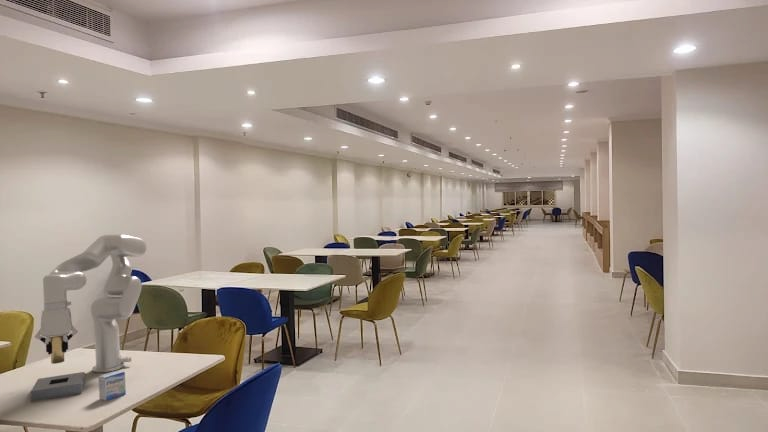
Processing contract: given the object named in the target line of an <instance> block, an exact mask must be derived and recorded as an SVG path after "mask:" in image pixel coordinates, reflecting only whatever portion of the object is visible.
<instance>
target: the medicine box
mask: <svg viewBox="0 0 768 432" xmlns="http://www.w3.org/2000/svg"><path fill="white" fill-rule="evenodd" d="M126 388H127V386H126V371H123V370H114V371H111V372H108V373H106V374H103V375H99V376H98V394H99V395H98V399H99V400H102V401H105V402H108V401H109V400H113V399H116V398H118V397H121V396H124V395H126V392H127V390H126Z"/></svg>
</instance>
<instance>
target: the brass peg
mask: <svg viewBox="0 0 768 432" xmlns="http://www.w3.org/2000/svg"><path fill="white" fill-rule="evenodd" d="M63 342H64V338H63V335H57V336H51V337H50V346H51V354H50V363H51V364H52V365H55V364H56V365H57V364H60V363H64V362H65V353H64V352H63Z"/></svg>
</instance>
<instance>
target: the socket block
mask: <svg viewBox="0 0 768 432" xmlns="http://www.w3.org/2000/svg"><path fill="white" fill-rule="evenodd" d="M85 378H86V377H85V371H81V372H76V373H69V374H61V375H54V376H49V377H48V376H47V377H42V378H41V377H40V378H37V380H36V382H35V383H34V385H33V387H32V389H31V390H30V401H31V403H33V402H38V401H39V402H40V401H46V400H50V399H51V400H52V399H58V398H63V397H70V396H75V395H80V394H81V395H82V393H83V389H84V386H85V384H86V383H85V382H86V379H85Z"/></svg>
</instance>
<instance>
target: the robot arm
mask: <svg viewBox="0 0 768 432" xmlns="http://www.w3.org/2000/svg"><path fill="white" fill-rule="evenodd" d="M146 251H147V243H146V242H145V240H144V239H142V238H140V237H135V236H132V235H128V234H127V235H126V234H121V233H120V234H119V233H118V234H103V235H101V236H99V237H98V238H97V239H96V240H94V242H93V243H91V244H90V245H89V246H88V247H87V248H86V249H85V250H84V251H83V252H82V253H79V254H76V255H75V256H73V257H71V258H69V259H67V260H65V261H63V262H61V263H60V264H59V265H57V266H56V267H55V268H54V269H53V270H51V272H50V273H49V274H46V275H44V277H43V278H42V283H43V310H41V311H42V312H41V317H40V329H39V330H38V331H37V333H36V334H35V335H34V338H35V339H37V340H39V341H41V342H42V343H43V344H44V345H45V348H46V349H45V352H46V353H48V354H47V355H49V356H50V355H51V346H50V337H52V336H57V335H63V338H64V342H63V352H64V354H65V353H66V352H67V350H69V341H70V339H72V337H74V336H75V335H76V334H78V333H79V331H78V330H77V328H76V327H75V326H74V325H73V320H72V319H73V318H72V313H71V309H70V307H69V306H72V301H68V298H67V297H68V296H67V292H68V291H77V290H81V289H83V288H84V287H85V286H86V285H87V280H88V279H87V276H86V275H85V274H84V273H83V272H88V271H91V270H94V269H97V268H98V267H100V266H101V265H102V264H103V263H104V262H105V260H106V259H108V257H110V258H111V261H112V266H111V269H110V272H109V274H108V276H107V279H106V282H105V283H104V286H103V293H104V295H105V297H100V298H96V299H95V300H94V301H92V303H91V305H90V312H91V316H92V320H93V329H94V347H95V350H94V351H95V365H94V366H92V369H91V370H92V372H93V373H111V372H115V371H119V370H120V369H122V368H124V367H125V363H130V362H132V356H125V357H123V356H122V355H121V351H120V349H121V348H120V345H121V344H120V328H119V324H118V322H117V320H125V319H128V318H130V317H131V316H132V315H133V313H134V311H135V308H136V305H137V302H138V301H139V297H140V295H141V292H142V285H143V284H142V280H141V279H140V278H139V277H138V276H134V275H132V271H133V266H132V264H131V261H129V257H142V256H144V255H145V253H146Z"/></svg>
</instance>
